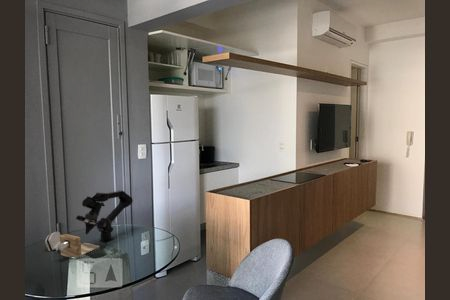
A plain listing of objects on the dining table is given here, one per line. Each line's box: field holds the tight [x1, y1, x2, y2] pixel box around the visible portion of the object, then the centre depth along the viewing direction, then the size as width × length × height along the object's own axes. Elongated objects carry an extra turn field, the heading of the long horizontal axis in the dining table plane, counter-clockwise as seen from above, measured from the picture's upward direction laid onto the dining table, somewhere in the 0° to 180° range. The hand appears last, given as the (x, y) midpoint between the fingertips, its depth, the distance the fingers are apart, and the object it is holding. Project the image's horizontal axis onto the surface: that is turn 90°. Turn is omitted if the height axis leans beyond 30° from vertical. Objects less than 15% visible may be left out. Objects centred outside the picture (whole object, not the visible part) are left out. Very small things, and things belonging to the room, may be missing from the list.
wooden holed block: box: [58, 240, 70, 251], centre depth 205 cm, size 11×5×5 cm, turn 152°
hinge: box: [44, 231, 62, 252], centre depth 223 cm, size 17×5×10 cm, turn 7°
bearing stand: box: [60, 233, 101, 258], centre depth 213 cm, size 18×14×12 cm
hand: (86, 234), depth 217 cm, fingers closed
